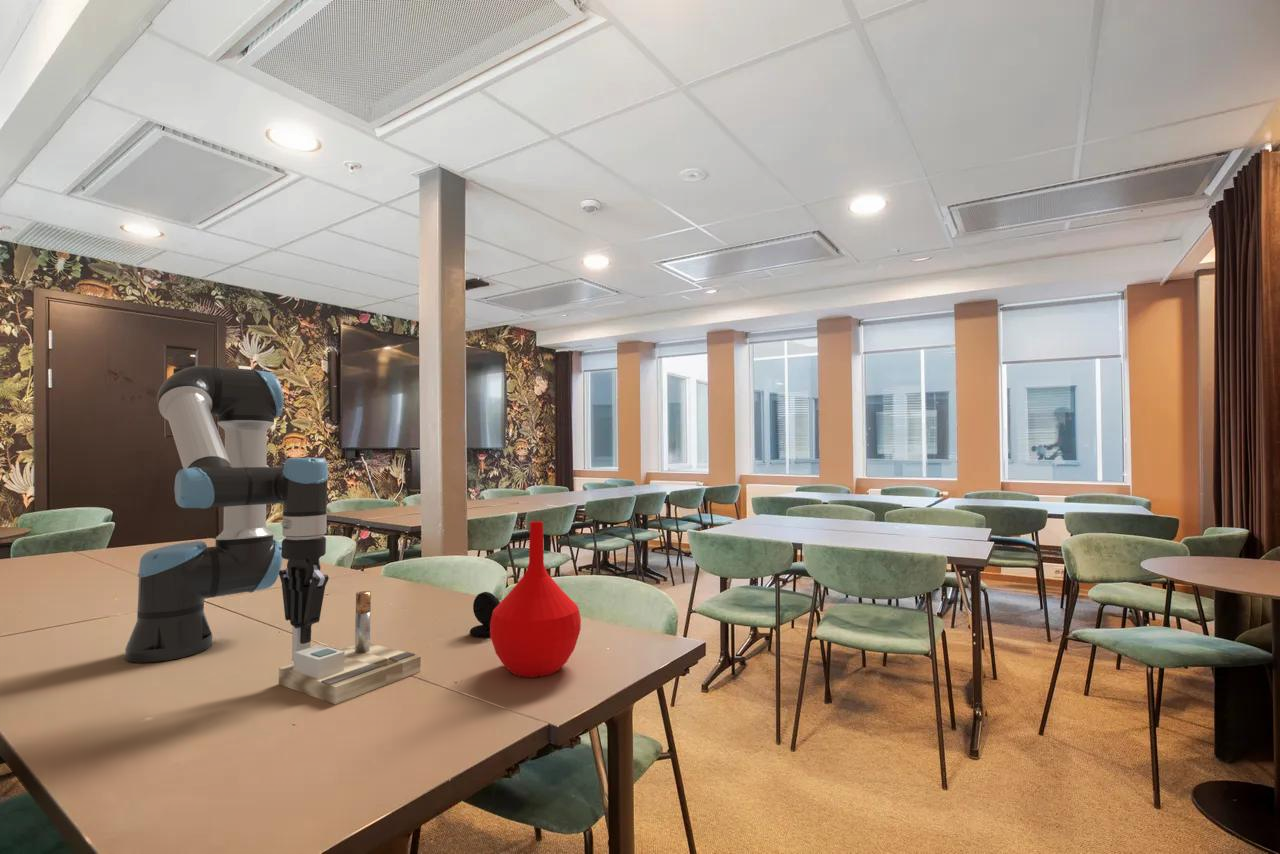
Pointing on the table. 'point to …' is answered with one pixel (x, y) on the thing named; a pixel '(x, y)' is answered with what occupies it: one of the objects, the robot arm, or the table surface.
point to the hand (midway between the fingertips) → (301, 659)
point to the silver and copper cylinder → (362, 622)
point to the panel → (354, 674)
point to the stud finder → (318, 661)
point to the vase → (535, 619)
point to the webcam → (483, 613)
